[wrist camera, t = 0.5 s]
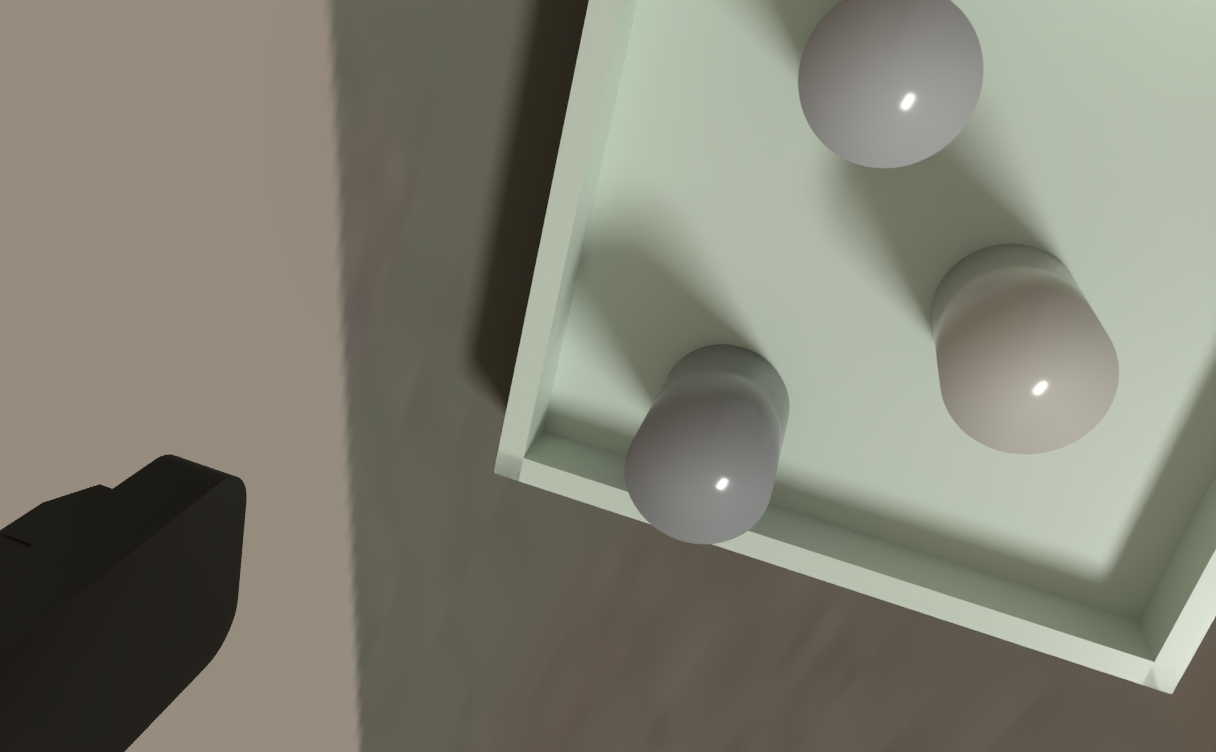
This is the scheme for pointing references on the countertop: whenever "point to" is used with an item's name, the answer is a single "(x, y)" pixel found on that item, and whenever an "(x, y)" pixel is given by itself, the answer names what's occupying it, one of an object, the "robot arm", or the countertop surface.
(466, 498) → the countertop surface
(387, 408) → the countertop surface
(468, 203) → the countertop surface
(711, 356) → the grey rounded knob
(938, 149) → the pebble
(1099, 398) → the pebble
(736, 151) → the tray
